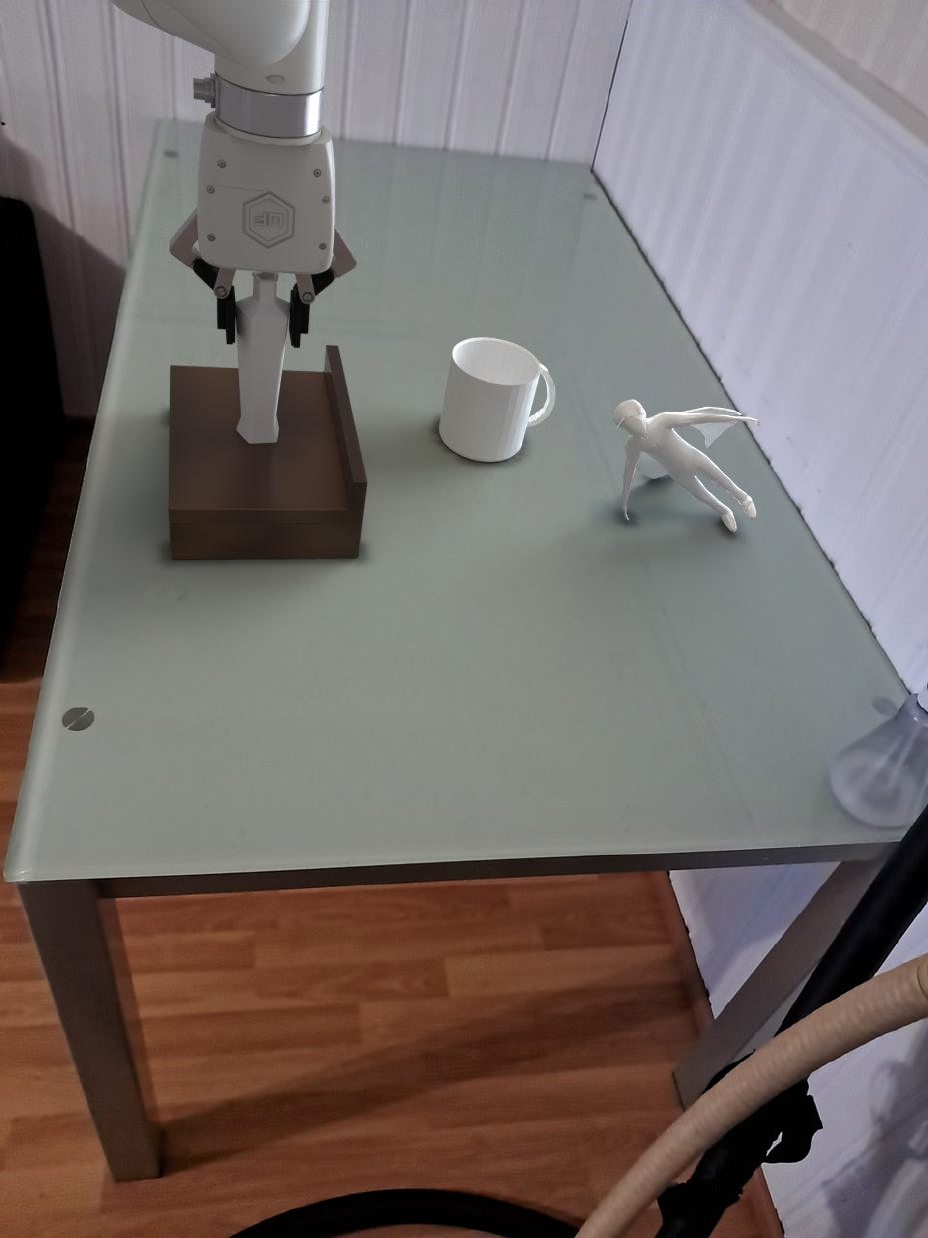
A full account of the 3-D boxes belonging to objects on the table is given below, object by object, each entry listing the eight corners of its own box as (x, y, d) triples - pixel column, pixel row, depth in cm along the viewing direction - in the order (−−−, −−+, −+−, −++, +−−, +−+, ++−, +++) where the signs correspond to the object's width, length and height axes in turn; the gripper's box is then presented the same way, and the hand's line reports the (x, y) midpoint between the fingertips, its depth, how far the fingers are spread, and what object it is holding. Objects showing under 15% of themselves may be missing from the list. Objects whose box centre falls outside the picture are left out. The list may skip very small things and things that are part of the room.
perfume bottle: (261, 453, 85) (269, 295, 75) (224, 432, 86) (227, 273, 76) (295, 434, 88) (307, 279, 78) (259, 413, 89) (266, 258, 79)
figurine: (783, 420, 100) (669, 301, 89) (816, 487, 92) (697, 367, 81) (662, 507, 108) (543, 408, 96) (684, 575, 100) (558, 476, 89)
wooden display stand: (171, 559, 81) (166, 479, 76) (172, 413, 96) (168, 336, 90) (358, 558, 86) (367, 482, 80) (331, 418, 100) (338, 345, 95)
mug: (443, 460, 98) (458, 381, 92) (433, 411, 105) (447, 333, 98) (555, 467, 101) (577, 390, 95) (539, 418, 107) (558, 343, 101)
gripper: (142, 109, 63) (156, 356, 76) (394, 137, 68) (368, 366, 80) (144, 72, 68) (157, 309, 81) (379, 100, 73) (357, 321, 85)
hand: (262, 335), depth 80 cm, fingers closed on perfume bottle, 4 cm apart
